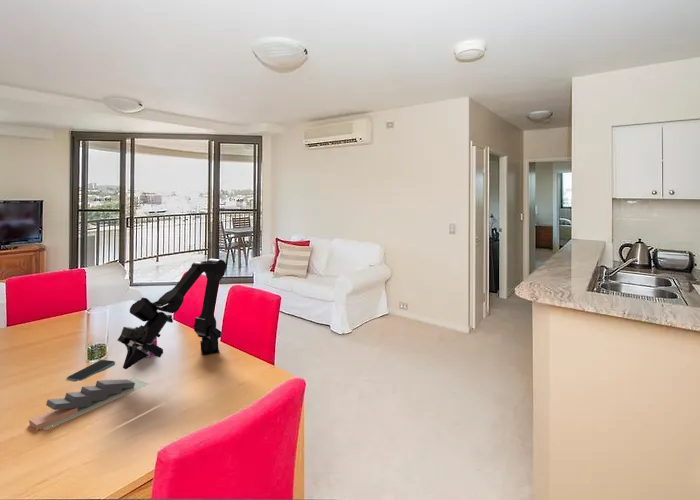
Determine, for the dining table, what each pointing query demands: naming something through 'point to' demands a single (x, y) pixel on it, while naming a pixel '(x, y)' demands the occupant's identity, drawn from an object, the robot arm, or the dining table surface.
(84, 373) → the smartphone
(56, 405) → the domino
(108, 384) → the domino
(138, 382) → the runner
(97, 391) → the domino
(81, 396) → the domino
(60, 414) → the domino
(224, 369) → the dining table surface
